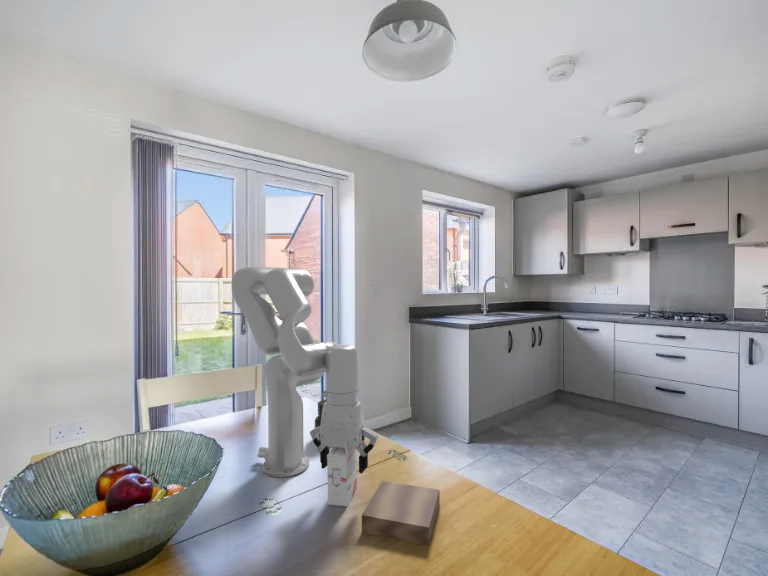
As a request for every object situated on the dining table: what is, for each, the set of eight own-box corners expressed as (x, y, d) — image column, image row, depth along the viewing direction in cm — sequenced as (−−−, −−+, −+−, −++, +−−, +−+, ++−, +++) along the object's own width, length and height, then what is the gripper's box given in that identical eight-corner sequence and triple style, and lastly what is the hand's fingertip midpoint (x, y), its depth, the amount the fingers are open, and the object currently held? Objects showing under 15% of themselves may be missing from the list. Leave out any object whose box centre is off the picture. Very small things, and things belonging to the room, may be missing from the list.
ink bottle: (309, 442, 121) (308, 405, 121) (320, 432, 130) (319, 397, 130) (337, 445, 119) (337, 407, 119) (346, 434, 128) (346, 399, 127)
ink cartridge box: (338, 485, 95) (338, 428, 95) (357, 487, 94) (357, 429, 94) (326, 505, 87) (326, 442, 87) (347, 507, 86) (346, 443, 86)
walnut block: (361, 534, 77) (361, 515, 77) (381, 497, 91) (381, 480, 91) (429, 547, 73) (428, 527, 73) (439, 506, 87) (439, 489, 87)
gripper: (302, 399, 89) (304, 471, 89) (371, 404, 84) (373, 480, 84) (317, 390, 96) (318, 457, 96) (381, 395, 91) (382, 465, 91)
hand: (343, 468), depth 90 cm, fingers open, 9 cm apart
